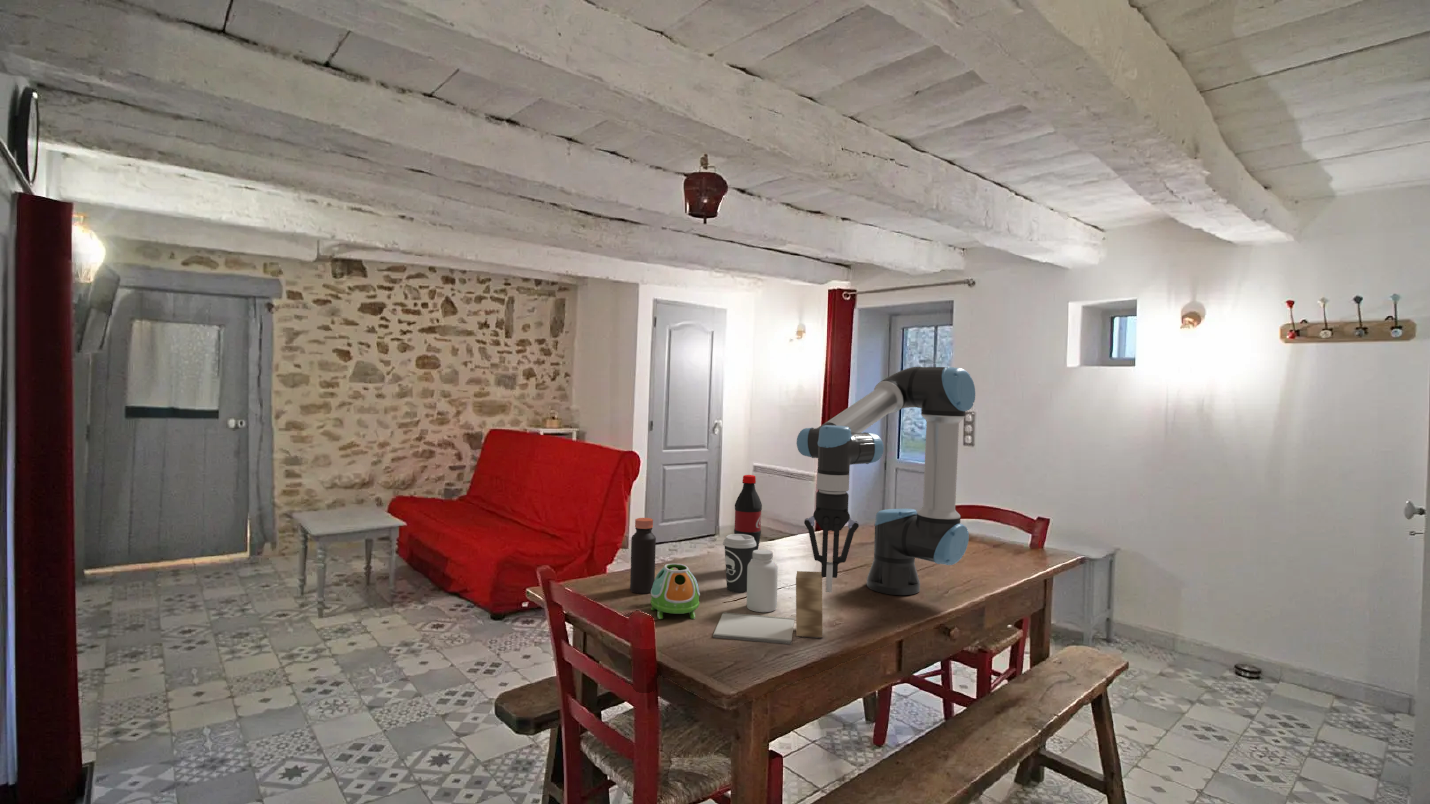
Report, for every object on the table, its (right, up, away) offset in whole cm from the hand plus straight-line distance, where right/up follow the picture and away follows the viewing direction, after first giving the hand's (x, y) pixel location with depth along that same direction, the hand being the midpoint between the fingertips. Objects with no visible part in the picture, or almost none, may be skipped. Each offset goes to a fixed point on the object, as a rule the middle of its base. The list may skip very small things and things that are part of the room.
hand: (828, 590), depth 171 cm
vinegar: (-47, -8, +31) cm, 57 cm away
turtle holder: (-38, -9, +15) cm, 41 cm away
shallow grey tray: (-17, -10, +3) cm, 20 cm away
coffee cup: (-20, -9, +35) cm, 41 cm away
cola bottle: (-17, -8, +55) cm, 58 cm away
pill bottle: (-15, -10, +19) cm, 26 cm away
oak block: (-4, -10, +1) cm, 11 cm away
